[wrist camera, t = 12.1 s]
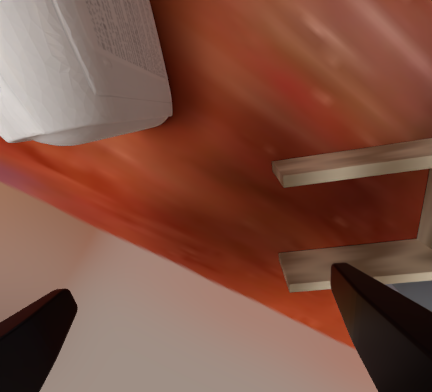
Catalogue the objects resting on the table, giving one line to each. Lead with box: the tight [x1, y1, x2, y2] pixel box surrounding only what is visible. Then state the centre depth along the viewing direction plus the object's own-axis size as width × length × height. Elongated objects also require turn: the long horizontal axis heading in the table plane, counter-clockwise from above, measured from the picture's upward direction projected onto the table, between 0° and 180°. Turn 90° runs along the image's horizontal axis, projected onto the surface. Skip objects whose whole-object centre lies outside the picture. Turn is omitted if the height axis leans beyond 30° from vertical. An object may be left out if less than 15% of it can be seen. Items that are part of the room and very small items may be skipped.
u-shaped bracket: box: [272, 138, 432, 292], centre depth 17 cm, size 13×10×4 cm
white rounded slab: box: [0, 0, 173, 146], centre depth 10 cm, size 10×4×12 cm, turn 11°
